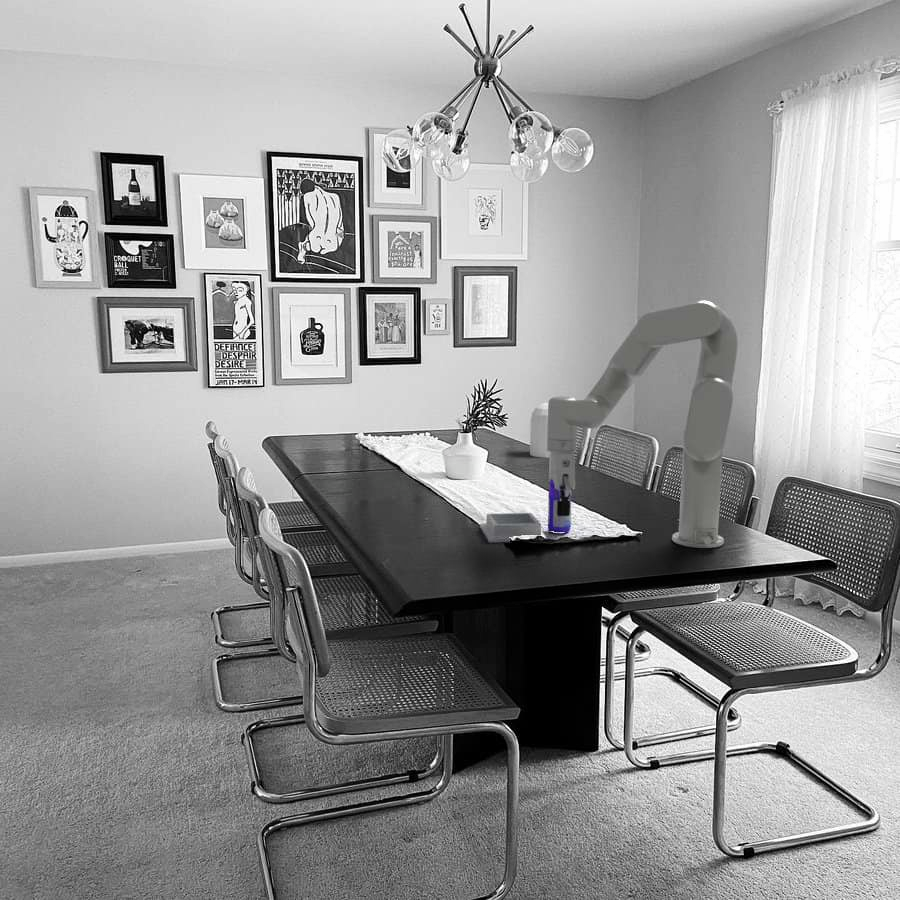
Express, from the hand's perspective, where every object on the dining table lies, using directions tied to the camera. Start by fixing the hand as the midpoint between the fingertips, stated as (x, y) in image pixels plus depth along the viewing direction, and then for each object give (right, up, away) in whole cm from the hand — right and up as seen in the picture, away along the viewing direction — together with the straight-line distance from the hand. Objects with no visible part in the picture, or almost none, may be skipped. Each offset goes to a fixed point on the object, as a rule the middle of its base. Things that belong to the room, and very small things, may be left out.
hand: (559, 511), depth 241 cm
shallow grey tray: (-12, -6, -2) cm, 14 cm away
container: (+9, +14, +113) cm, 114 cm away
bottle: (0, -6, +1) cm, 6 cm away
